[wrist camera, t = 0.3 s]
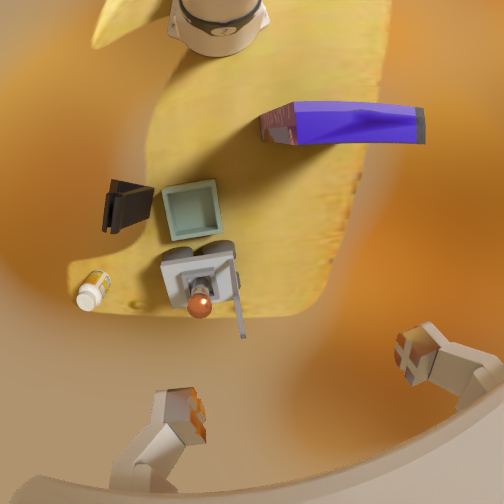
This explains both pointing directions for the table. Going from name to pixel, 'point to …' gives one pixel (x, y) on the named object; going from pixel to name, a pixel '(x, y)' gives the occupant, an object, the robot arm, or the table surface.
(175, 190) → the bin
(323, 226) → the table surface
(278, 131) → the cereal box
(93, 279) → the supplement bottle
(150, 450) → the robot arm
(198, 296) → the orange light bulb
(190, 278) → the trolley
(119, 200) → the phone stand
